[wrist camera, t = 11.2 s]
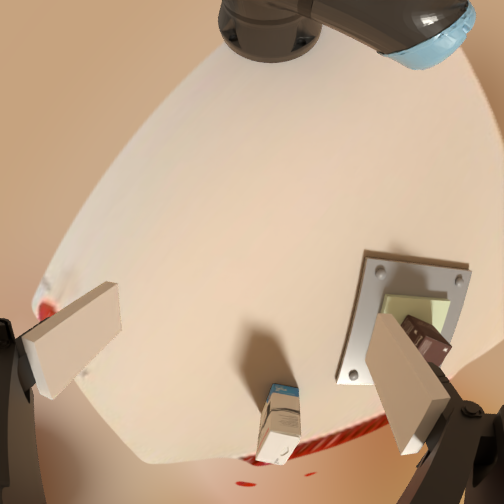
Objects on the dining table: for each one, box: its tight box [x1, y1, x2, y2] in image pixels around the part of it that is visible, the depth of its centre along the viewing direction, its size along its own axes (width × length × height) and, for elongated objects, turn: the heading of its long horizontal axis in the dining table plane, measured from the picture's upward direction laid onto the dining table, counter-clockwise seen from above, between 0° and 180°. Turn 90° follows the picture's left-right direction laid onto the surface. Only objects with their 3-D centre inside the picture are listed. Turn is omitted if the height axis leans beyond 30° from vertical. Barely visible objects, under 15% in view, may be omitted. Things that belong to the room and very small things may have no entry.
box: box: [400, 315, 452, 367], centre depth 37 cm, size 6×6×7 cm
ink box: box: [255, 384, 301, 465], centre depth 43 cm, size 8×5×12 cm, turn 165°
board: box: [336, 257, 472, 385], centre depth 42 cm, size 22×20×2 cm
